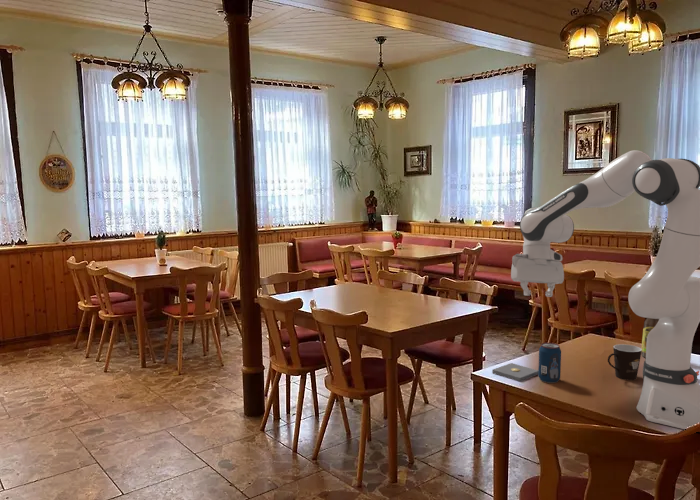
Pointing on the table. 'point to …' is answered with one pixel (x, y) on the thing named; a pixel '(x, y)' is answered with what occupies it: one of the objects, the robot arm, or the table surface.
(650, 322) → the sauce bottle
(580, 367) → the table surface
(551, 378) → the soda can
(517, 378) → the slate board
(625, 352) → the coffee mug
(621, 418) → the table surface
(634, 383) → the table surface
